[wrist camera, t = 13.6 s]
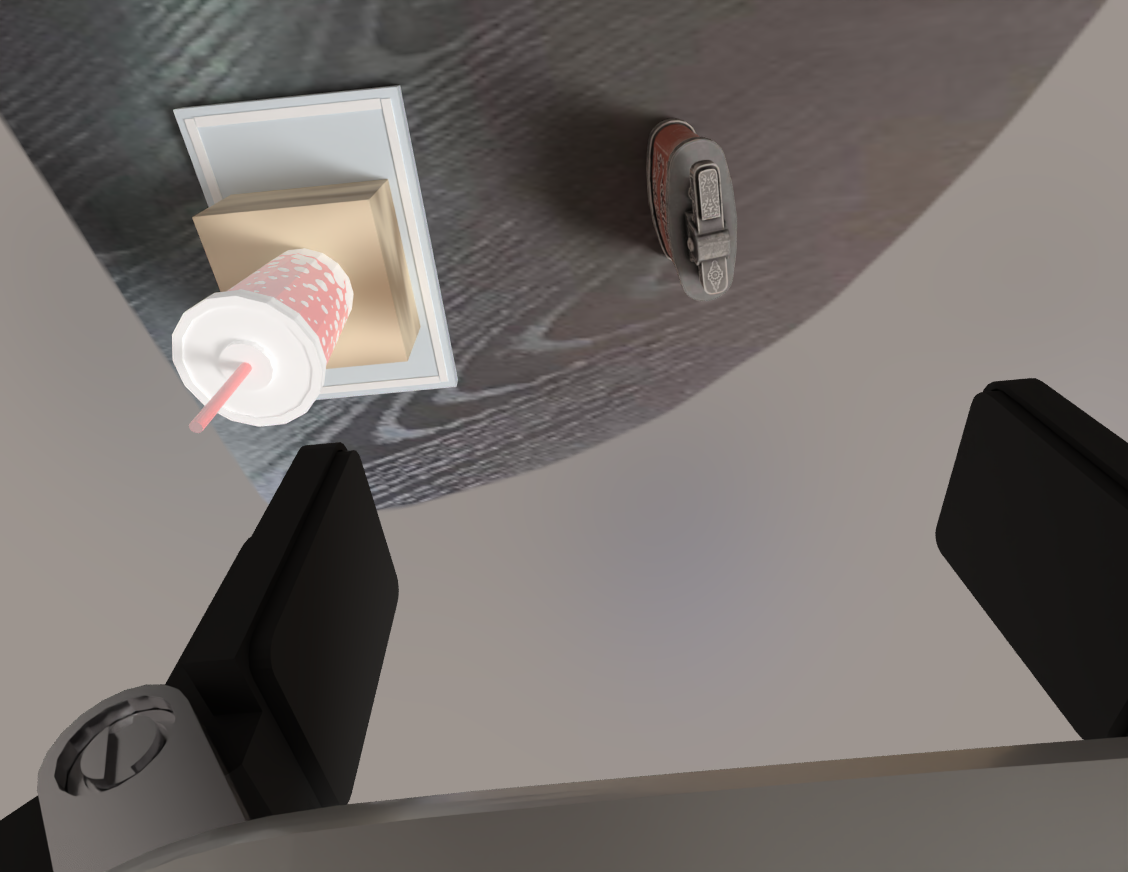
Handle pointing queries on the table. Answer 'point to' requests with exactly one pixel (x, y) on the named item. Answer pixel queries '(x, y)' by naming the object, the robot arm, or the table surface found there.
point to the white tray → (325, 157)
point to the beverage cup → (264, 340)
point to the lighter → (692, 207)
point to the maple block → (340, 231)
